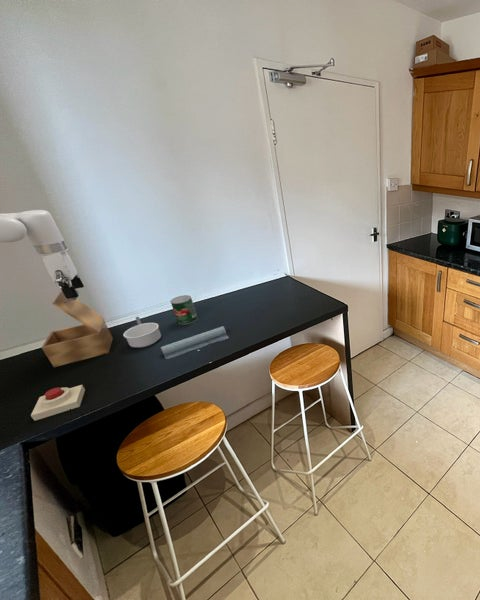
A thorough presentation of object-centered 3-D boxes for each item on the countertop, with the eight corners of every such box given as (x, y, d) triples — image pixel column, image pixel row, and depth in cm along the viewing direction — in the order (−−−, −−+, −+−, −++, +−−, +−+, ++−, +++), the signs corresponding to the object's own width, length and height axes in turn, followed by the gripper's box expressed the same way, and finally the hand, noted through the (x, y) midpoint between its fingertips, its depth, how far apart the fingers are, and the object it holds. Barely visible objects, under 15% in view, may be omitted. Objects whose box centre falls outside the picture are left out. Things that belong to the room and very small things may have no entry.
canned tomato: (177, 326, 139) (169, 304, 134) (178, 318, 145) (171, 297, 140) (198, 322, 143) (190, 300, 138) (198, 314, 149) (191, 293, 144)
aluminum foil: (224, 331, 136) (222, 324, 134) (229, 337, 131) (227, 331, 130) (162, 353, 122) (159, 345, 120) (165, 360, 118) (162, 353, 116)
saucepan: (157, 323, 142) (153, 312, 139) (165, 341, 129) (160, 330, 126) (125, 332, 135) (120, 321, 132) (130, 353, 122) (124, 341, 119)
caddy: (53, 367, 114) (41, 347, 110) (62, 350, 124) (51, 331, 120) (108, 353, 122) (99, 334, 118) (112, 337, 131) (103, 319, 127)
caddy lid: (52, 303, 107) (66, 295, 109) (61, 290, 117) (74, 283, 118) (97, 333, 118) (110, 325, 119) (102, 319, 127) (114, 312, 128)
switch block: (34, 420, 92) (27, 411, 91) (43, 402, 99) (36, 392, 97) (79, 406, 97) (73, 397, 96) (85, 389, 104) (79, 380, 102)
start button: (45, 401, 94) (42, 397, 94) (49, 394, 97) (46, 390, 96) (62, 397, 96) (59, 392, 95) (65, 390, 99) (62, 385, 98)
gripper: (43, 243, 111) (67, 286, 119) (27, 257, 98) (55, 304, 106) (72, 239, 115) (93, 282, 123) (60, 252, 102) (84, 299, 110)
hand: (75, 292), depth 115 cm, fingers open, 9 cm apart
